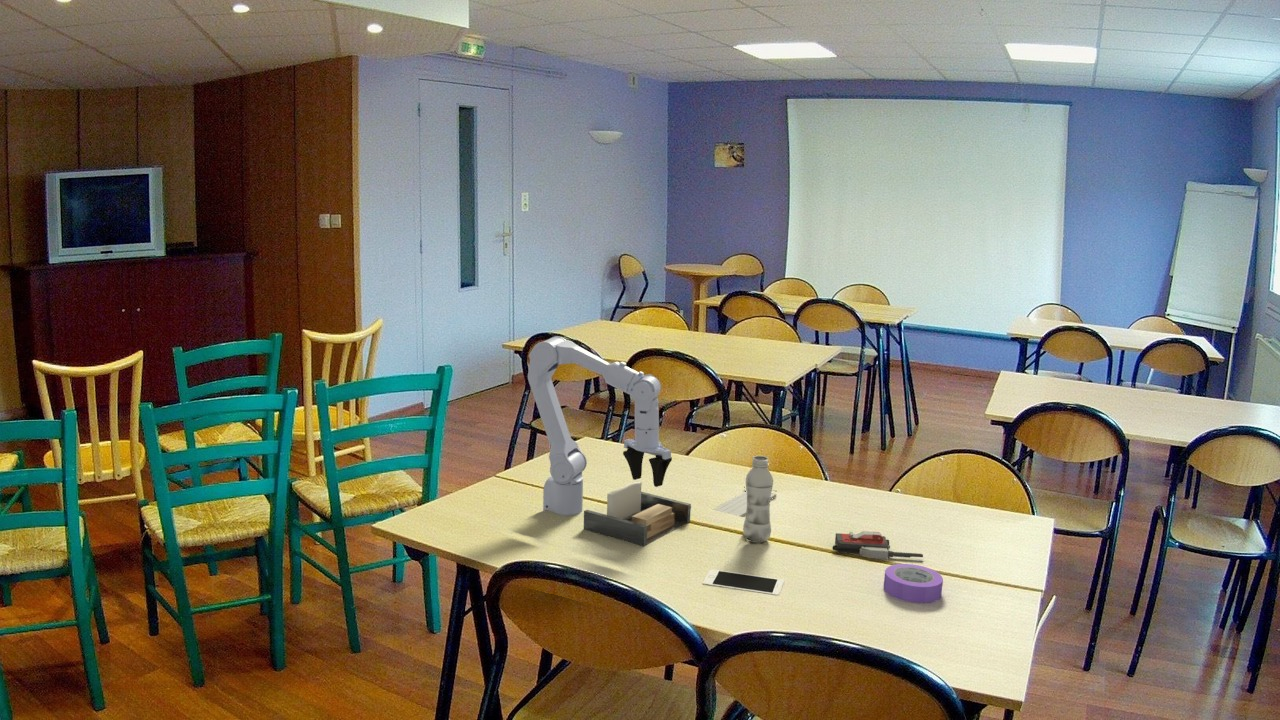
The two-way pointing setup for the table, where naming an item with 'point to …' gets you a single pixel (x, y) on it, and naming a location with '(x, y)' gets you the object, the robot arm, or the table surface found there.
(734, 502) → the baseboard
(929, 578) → the masking tape
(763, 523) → the plastic bottle
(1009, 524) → the table surface
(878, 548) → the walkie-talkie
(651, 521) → the offcut stack
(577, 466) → the robot arm
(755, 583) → the cell phone
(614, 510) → the white block
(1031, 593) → the table surface
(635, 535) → the rack
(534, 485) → the table surface
